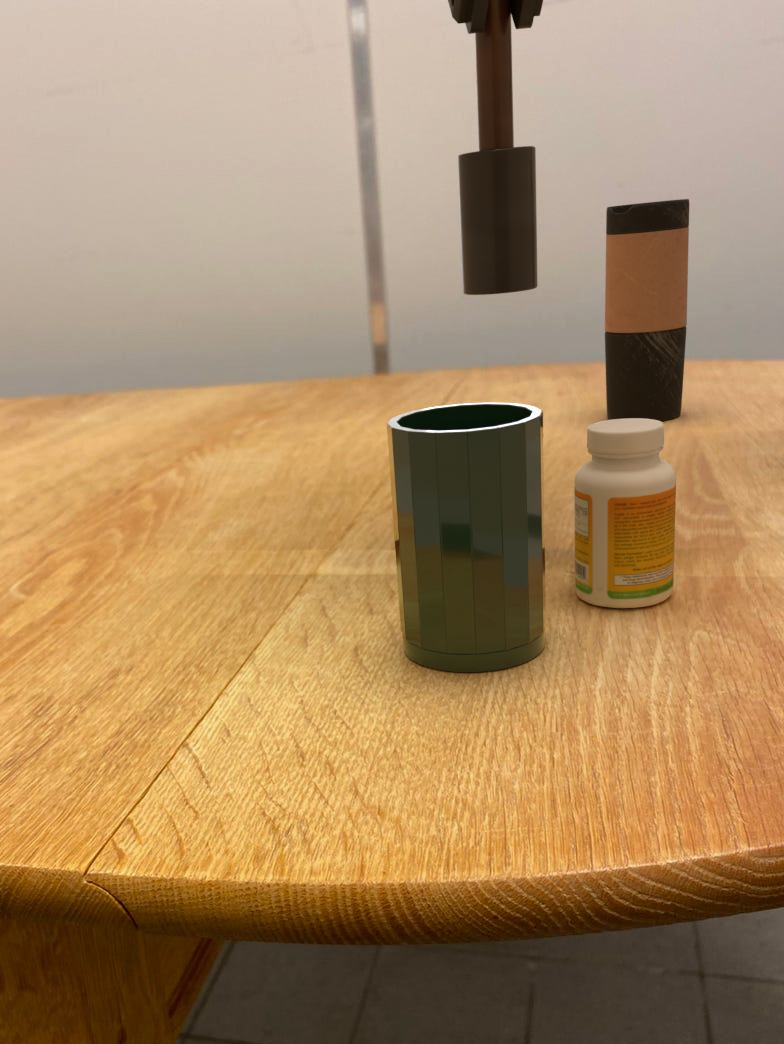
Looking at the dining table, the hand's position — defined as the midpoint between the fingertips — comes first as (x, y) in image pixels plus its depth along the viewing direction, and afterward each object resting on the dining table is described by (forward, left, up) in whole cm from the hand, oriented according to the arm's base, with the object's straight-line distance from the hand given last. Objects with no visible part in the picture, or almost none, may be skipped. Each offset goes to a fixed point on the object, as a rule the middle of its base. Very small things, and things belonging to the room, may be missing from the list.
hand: (504, 13), depth 51 cm
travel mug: (-7, -53, -30) cm, 62 cm away
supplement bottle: (-6, 0, -30) cm, 31 cm away
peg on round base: (+1, -2, -13) cm, 13 cm away
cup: (+1, +8, -30) cm, 31 cm away
